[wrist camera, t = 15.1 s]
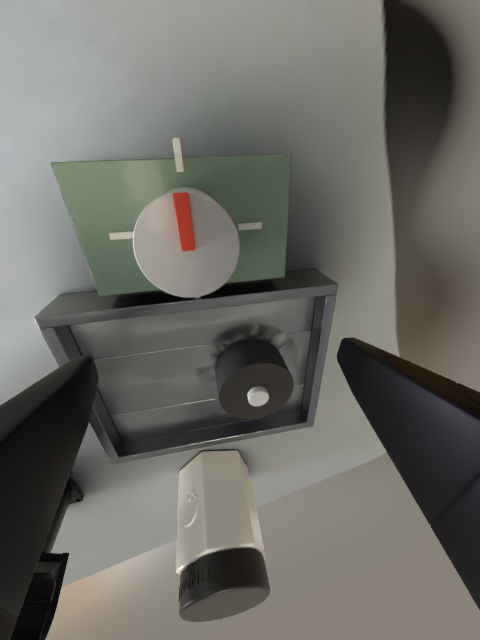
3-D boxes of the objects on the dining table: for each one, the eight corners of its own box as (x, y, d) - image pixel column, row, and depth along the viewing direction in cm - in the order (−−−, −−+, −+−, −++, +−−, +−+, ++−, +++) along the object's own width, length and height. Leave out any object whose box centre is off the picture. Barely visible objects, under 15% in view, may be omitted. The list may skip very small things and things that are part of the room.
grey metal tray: (300, 400, 28) (313, 426, 25) (121, 431, 25) (112, 464, 22) (316, 268, 20) (338, 284, 17) (59, 294, 18) (32, 317, 15)
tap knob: (228, 264, 16) (243, 295, 11) (157, 270, 15) (145, 306, 11) (223, 185, 13) (239, 188, 9) (139, 189, 13) (116, 194, 9)
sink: (294, 396, 28) (301, 410, 26) (127, 424, 25) (122, 442, 23) (306, 278, 20) (317, 287, 19) (75, 302, 18) (63, 315, 16)
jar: (211, 439, 29) (224, 583, 19) (259, 457, 32) (291, 586, 22) (167, 479, 31) (156, 626, 21) (216, 492, 35) (227, 622, 25)
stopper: (275, 375, 25) (294, 418, 20) (216, 384, 24) (222, 431, 20) (277, 325, 22) (300, 363, 17) (210, 333, 21) (216, 375, 17)
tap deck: (272, 274, 20) (285, 289, 17) (115, 289, 18) (102, 309, 15) (275, 142, 15) (294, 135, 13) (69, 148, 14) (40, 141, 11)
